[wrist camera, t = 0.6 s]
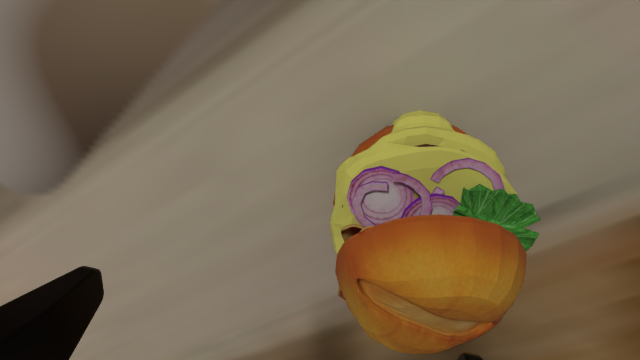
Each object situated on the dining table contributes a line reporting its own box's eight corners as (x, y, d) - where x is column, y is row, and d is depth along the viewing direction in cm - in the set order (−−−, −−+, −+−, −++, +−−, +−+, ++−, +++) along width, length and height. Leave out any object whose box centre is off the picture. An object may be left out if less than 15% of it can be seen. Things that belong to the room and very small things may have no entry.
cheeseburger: (520, 98, 21) (622, 234, 13) (482, 241, 27) (535, 390, 19) (328, 103, 22) (312, 232, 14) (335, 240, 28) (328, 382, 20)
